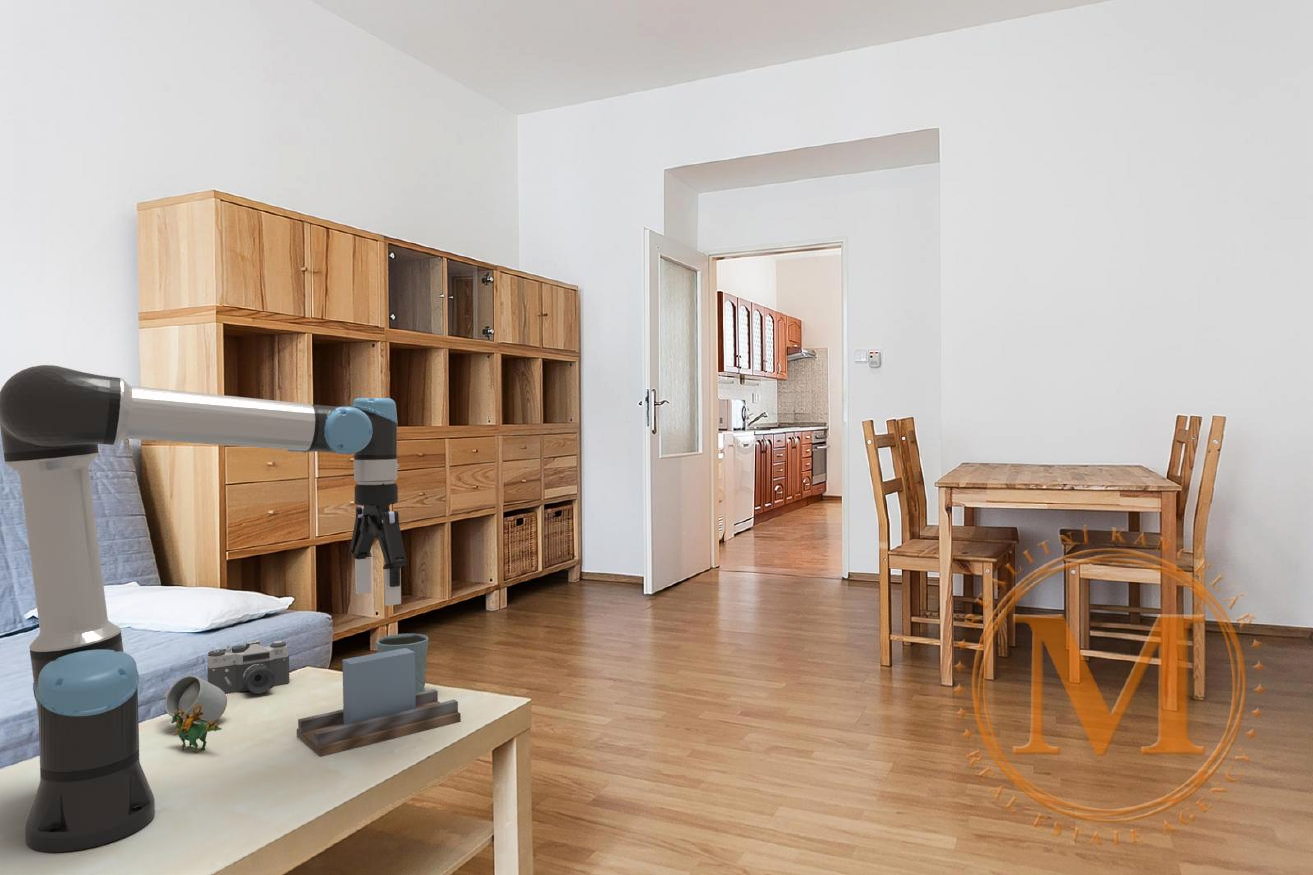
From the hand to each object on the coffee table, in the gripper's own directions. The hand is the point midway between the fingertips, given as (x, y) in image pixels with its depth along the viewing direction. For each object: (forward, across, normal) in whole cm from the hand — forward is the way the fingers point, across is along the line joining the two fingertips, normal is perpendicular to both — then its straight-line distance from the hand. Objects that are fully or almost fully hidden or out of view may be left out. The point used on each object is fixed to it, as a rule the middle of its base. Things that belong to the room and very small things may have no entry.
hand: (377, 599), depth 159 cm
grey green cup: (+24, +15, -11) cm, 31 cm away
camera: (+24, +39, +12) cm, 47 cm away
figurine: (+24, +10, +28) cm, 39 cm away
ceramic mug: (+24, +25, +26) cm, 43 cm away
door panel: (+22, 0, 0) cm, 22 cm away
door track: (+24, 0, 0) cm, 24 cm away
